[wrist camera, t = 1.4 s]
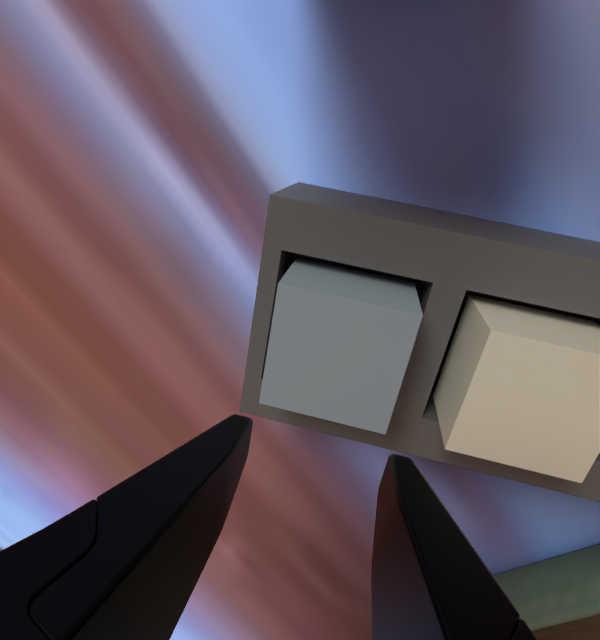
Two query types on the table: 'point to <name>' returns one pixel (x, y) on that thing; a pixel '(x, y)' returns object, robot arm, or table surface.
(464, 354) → the white key
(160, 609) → the robot arm
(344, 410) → the slate blue key
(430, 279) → the keypad
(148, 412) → the table surface
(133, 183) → the table surface
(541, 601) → the tea set
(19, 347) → the table surface
